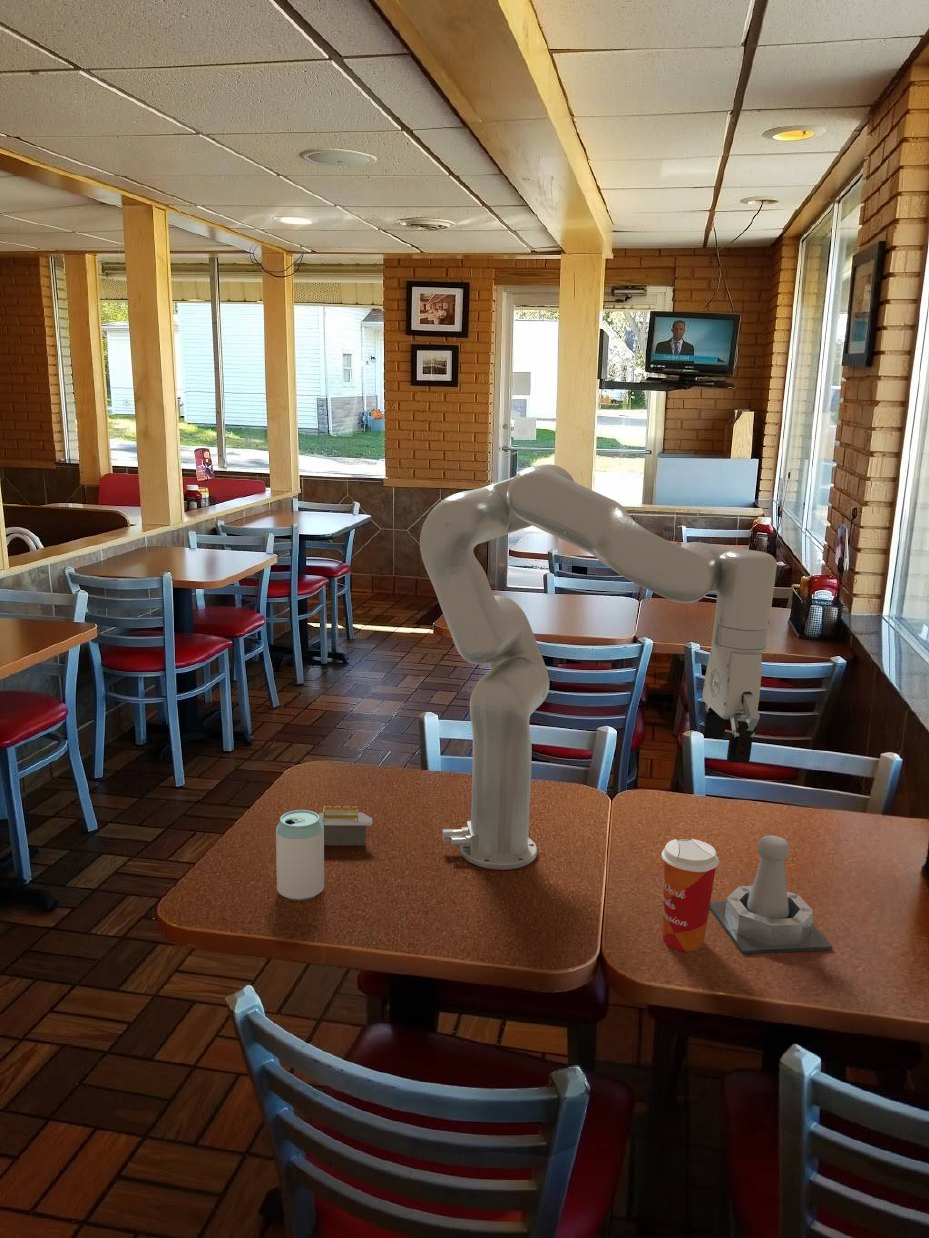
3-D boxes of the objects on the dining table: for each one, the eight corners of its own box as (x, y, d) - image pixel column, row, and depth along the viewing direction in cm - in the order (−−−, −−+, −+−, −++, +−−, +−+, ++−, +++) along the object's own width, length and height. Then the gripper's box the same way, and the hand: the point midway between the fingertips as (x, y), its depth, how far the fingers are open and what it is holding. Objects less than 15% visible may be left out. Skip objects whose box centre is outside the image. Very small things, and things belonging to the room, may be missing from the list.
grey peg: (782, 913, 142) (791, 832, 139) (791, 934, 136) (801, 850, 133) (741, 910, 142) (750, 829, 139) (749, 931, 136) (757, 847, 134)
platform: (293, 829, 167) (292, 794, 166) (397, 829, 168) (397, 794, 167) (283, 861, 156) (283, 824, 154) (395, 861, 156) (396, 824, 155)
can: (311, 906, 141) (310, 830, 139) (268, 898, 143) (266, 823, 141) (331, 884, 148) (331, 811, 145) (290, 876, 150) (289, 804, 147)
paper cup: (648, 926, 138) (655, 836, 135) (700, 925, 139) (708, 836, 136) (664, 957, 131) (671, 863, 127) (719, 956, 131) (728, 862, 128)
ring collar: (742, 954, 132) (745, 930, 131) (707, 905, 144) (709, 883, 144) (831, 949, 134) (834, 926, 133) (789, 902, 146) (791, 880, 145)
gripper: (694, 621, 146) (681, 728, 150) (737, 652, 129) (722, 771, 133) (741, 622, 147) (728, 728, 151) (790, 654, 130) (773, 772, 134)
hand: (725, 749), depth 142 cm, fingers open, 9 cm apart
